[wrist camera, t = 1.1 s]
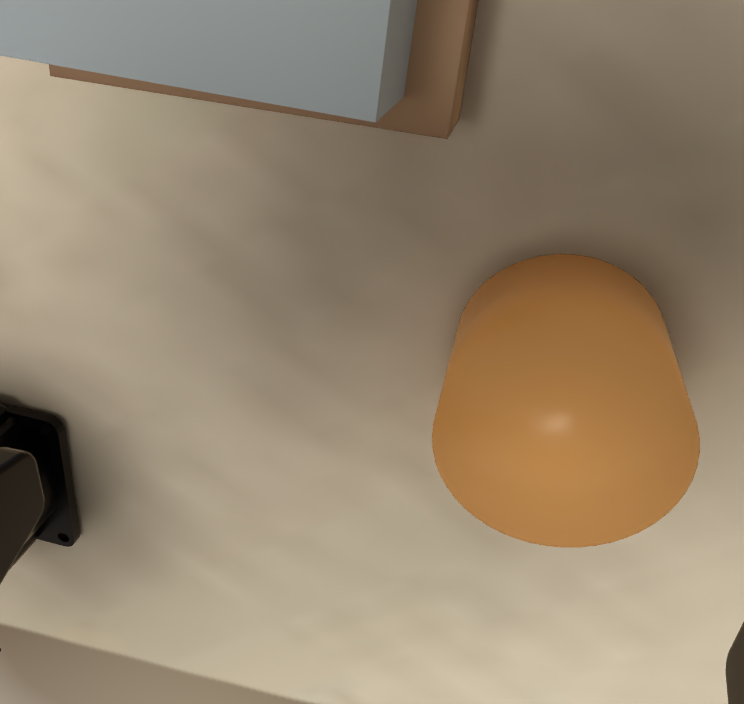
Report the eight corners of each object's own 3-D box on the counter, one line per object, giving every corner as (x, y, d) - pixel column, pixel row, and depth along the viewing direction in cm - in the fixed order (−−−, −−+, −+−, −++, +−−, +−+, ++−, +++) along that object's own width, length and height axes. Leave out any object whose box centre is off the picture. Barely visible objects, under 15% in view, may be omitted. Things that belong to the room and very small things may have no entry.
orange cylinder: (630, 451, 22) (651, 571, 17) (441, 410, 22) (415, 515, 18) (697, 276, 18) (742, 368, 14) (475, 235, 19) (454, 312, 15)
